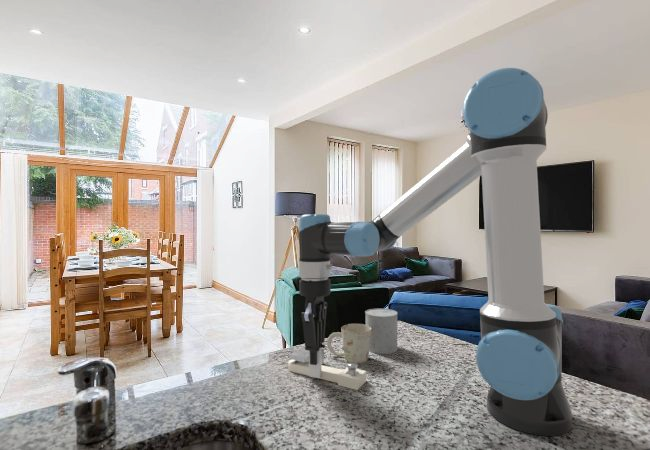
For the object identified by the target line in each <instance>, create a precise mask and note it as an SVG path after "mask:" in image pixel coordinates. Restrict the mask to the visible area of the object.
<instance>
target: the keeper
mask: <svg viewBox="0 0 650 450" xmlns="http://www.w3.org/2000/svg"><path fill="white" fill-rule="evenodd" d="M320 349H321V364H322V365H323V364H325V348H320ZM288 359H290V360H296V361H300V362H303V363H304V362H309V350H305V346H304V347H302V348H300V349H298V350H296V351H293V352H291V353H289V354H288Z"/></svg>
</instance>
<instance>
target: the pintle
mask: <svg viewBox="0 0 650 450" xmlns="http://www.w3.org/2000/svg"><path fill="white" fill-rule="evenodd" d="M358 365H359V363H355V362H347V363H346V368H348V375H353V376H355V375H356V369H359V368H358Z"/></svg>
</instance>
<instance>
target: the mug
mask: <svg viewBox="0 0 650 450" xmlns="http://www.w3.org/2000/svg"><path fill="white" fill-rule="evenodd" d="M340 330H341V332H339V331H337V332H335V331H334V332H331V334H329V336H328V338H327V339H326V340H327V341H326V346H327V349H328V351H329V352H330V353H331V354H332V355H334V356H336V357H344V360H345V361H346V362H347V363H349V362H355V363H357V364H361V363H366V362H368V361H369V354H370V352H369V347H370V338H371V327H370V326H368V325H366V324H363V323H348V324H345V325H343V326H341V329H340ZM335 338H342V339H341V340H342V347H343V352H336V351H335V350H334V348H333V346H332V342H333V340H334V339H335Z"/></svg>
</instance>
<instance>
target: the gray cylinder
mask: <svg viewBox="0 0 650 450" xmlns="http://www.w3.org/2000/svg"><path fill="white" fill-rule="evenodd" d="M364 313H365V325H368V326H370V327H371V338H370V347H369V353H372V354H377V355H390V354H394V353H396V352H398V315H399V313H398V311H396V310H393V309H390V308H380V307H379V308H370V309H367V310H365V311H364Z"/></svg>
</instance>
